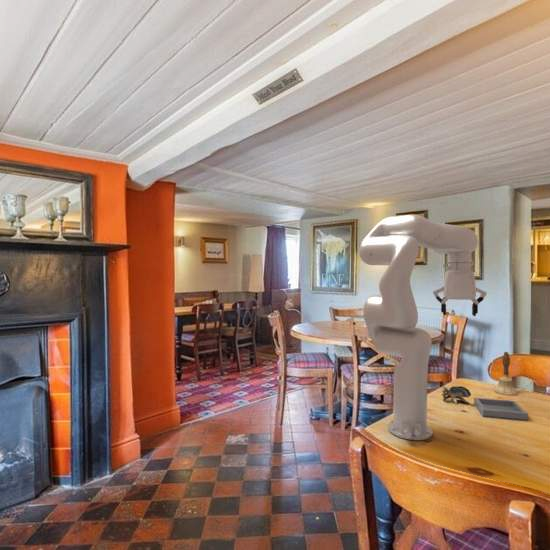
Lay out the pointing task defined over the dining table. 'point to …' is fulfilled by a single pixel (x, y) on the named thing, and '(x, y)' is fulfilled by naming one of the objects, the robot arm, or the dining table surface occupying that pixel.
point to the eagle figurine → (456, 393)
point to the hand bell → (506, 379)
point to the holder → (500, 409)
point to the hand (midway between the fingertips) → (459, 315)
